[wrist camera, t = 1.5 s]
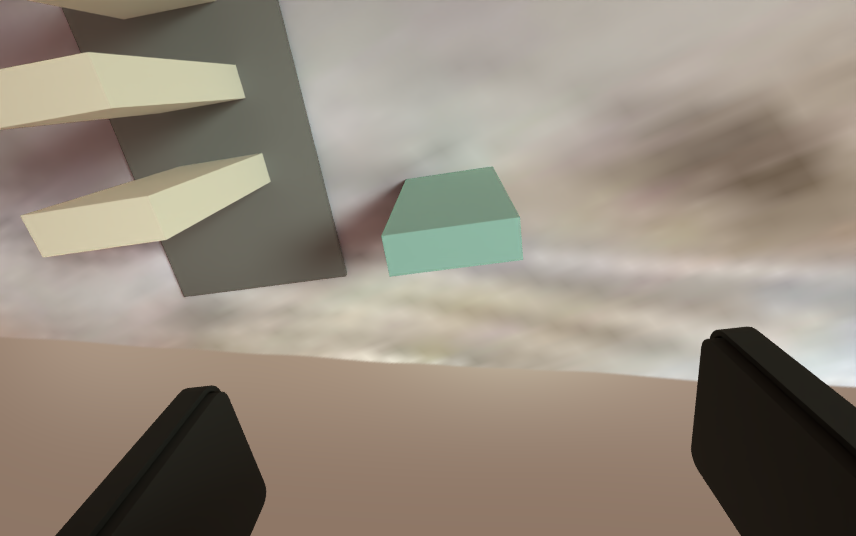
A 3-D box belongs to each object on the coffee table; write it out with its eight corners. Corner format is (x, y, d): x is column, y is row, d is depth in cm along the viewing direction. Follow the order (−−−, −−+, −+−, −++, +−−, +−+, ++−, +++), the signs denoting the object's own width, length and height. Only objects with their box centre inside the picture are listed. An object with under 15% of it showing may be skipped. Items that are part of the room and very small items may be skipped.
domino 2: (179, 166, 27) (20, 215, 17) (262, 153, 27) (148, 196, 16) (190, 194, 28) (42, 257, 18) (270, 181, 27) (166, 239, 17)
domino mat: (-8, -172, 21) (-16, -176, 21) (220, -231, 20) (215, -236, 20) (187, 294, 31) (184, 296, 31) (347, 273, 30) (345, 276, 30)
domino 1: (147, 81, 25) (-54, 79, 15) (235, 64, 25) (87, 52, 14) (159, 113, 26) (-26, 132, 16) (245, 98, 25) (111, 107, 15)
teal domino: (405, 179, 27) (381, 236, 17) (492, 166, 27) (519, 217, 17) (410, 206, 28) (389, 276, 18) (495, 194, 27) (523, 259, 17)
